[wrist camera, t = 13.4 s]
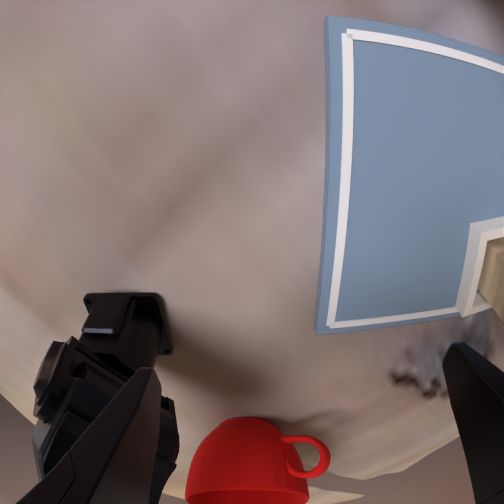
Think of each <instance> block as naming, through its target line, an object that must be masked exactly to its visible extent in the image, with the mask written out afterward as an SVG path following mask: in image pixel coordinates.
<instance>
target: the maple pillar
mask: <svg viewBox="0 0 504 504" xmlns="http://www.w3.org/2000/svg"><path fill="white" fill-rule="evenodd" d="M477 289H478V290H479V291H480V293H481V294H482V295H483V296H484V298H485V299H486V300H487V302H488V303H489V304H490V305H491V307H492V308H493V309H494V311H495V312H496V313H497V315H498V316H499V317H500V319H501V320H502V322H503V323H504V237H501V238H497V239H493V240H489V241H487V246H486V251H485V256H484V261H483V265H482V270H481V274H480V279H479V283H478V287H477Z"/></svg>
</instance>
